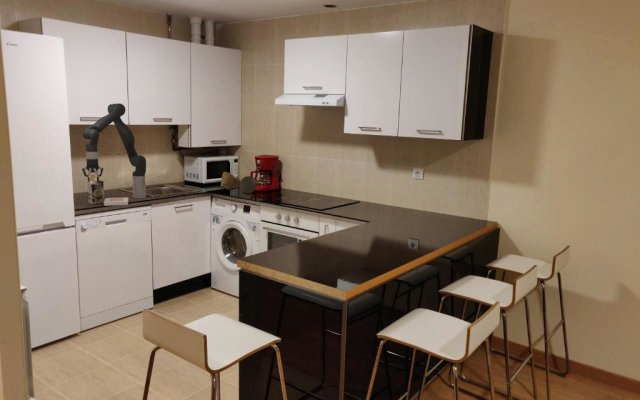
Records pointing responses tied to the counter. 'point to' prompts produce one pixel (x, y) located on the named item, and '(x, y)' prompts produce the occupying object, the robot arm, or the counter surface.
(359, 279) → the counter surface
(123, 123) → the robot arm
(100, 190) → the coffee box
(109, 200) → the white base board
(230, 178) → the rough brown rock
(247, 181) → the dark grey sphere
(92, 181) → the maple block
